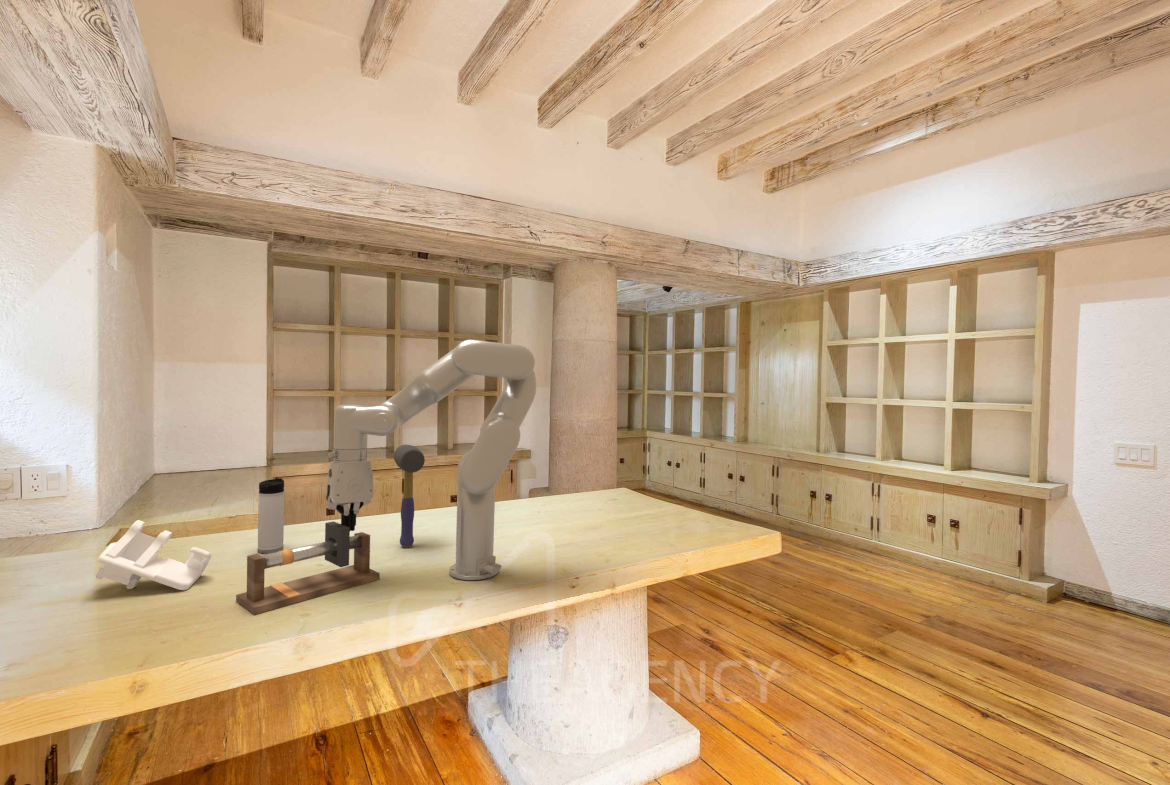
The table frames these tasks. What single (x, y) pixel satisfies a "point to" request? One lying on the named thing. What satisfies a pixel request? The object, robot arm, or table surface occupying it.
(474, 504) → the robot arm
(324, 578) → the pipe stand
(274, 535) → the travel mug
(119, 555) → the white angular bracket piece
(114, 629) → the table surface
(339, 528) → the collar
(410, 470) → the rubber mallet
